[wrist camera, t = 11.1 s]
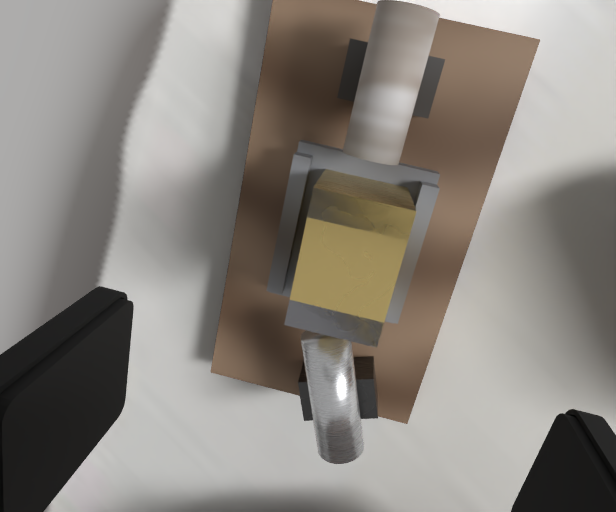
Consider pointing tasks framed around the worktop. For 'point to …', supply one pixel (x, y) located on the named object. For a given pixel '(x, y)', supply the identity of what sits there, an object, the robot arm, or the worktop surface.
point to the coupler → (350, 257)
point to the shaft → (336, 395)
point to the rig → (366, 171)
